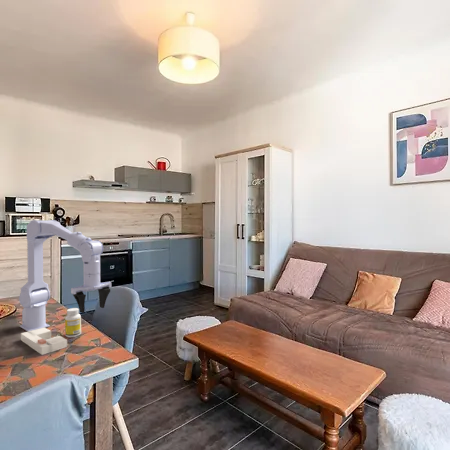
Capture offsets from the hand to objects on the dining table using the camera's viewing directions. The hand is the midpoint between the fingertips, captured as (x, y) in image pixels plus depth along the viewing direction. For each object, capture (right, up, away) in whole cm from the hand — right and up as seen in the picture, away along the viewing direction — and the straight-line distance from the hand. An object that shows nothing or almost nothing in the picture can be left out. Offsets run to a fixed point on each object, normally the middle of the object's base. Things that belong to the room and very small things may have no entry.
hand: (92, 309), depth 116 cm
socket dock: (-15, -10, -5) cm, 19 cm away
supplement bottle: (-8, -11, +3) cm, 14 cm away
